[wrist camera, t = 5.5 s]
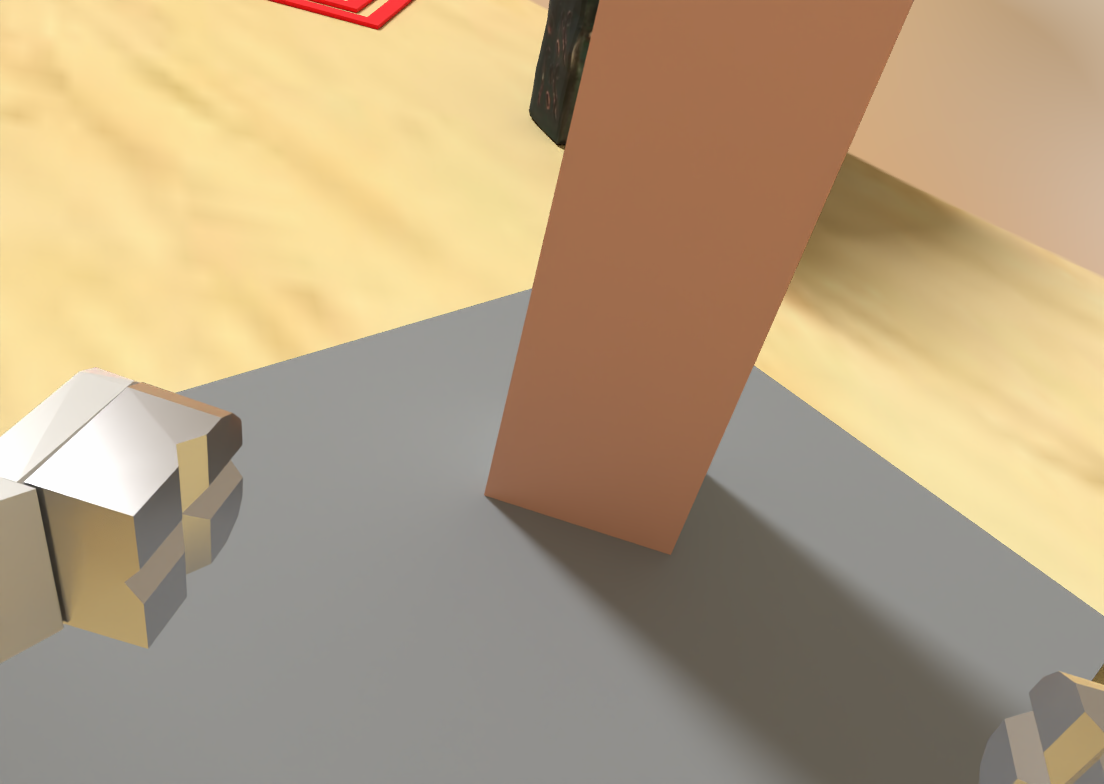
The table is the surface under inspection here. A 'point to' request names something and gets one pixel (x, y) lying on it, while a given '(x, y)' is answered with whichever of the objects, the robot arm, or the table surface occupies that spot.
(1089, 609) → the mat
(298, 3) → the maze puzzle
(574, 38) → the ceramic cat
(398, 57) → the table surface
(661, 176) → the block
